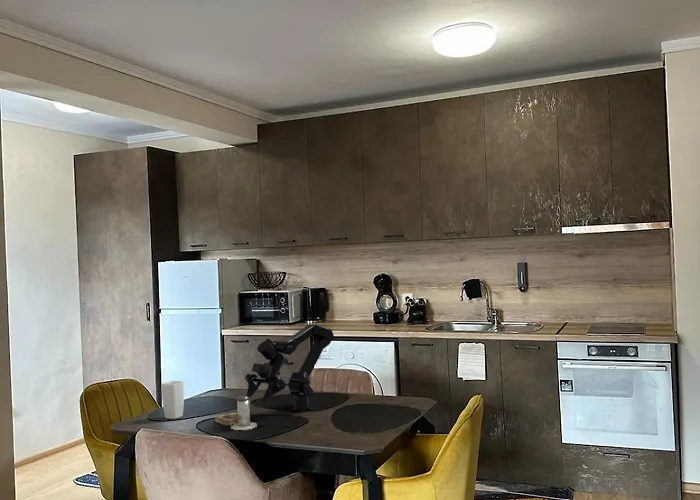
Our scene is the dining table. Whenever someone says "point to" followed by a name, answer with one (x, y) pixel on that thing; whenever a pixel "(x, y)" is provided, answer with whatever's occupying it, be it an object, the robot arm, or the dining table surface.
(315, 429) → the dining table surface
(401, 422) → the dining table surface
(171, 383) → the cup
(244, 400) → the glass jar
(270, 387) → the robot arm
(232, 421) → the oak collar
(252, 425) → the disc
